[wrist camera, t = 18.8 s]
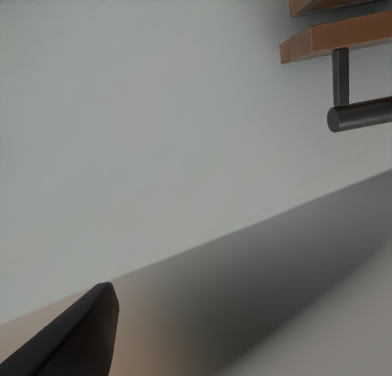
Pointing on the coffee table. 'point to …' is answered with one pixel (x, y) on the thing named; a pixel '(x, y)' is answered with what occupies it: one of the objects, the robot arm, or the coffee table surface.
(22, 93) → the coffee table surface
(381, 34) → the drawer
